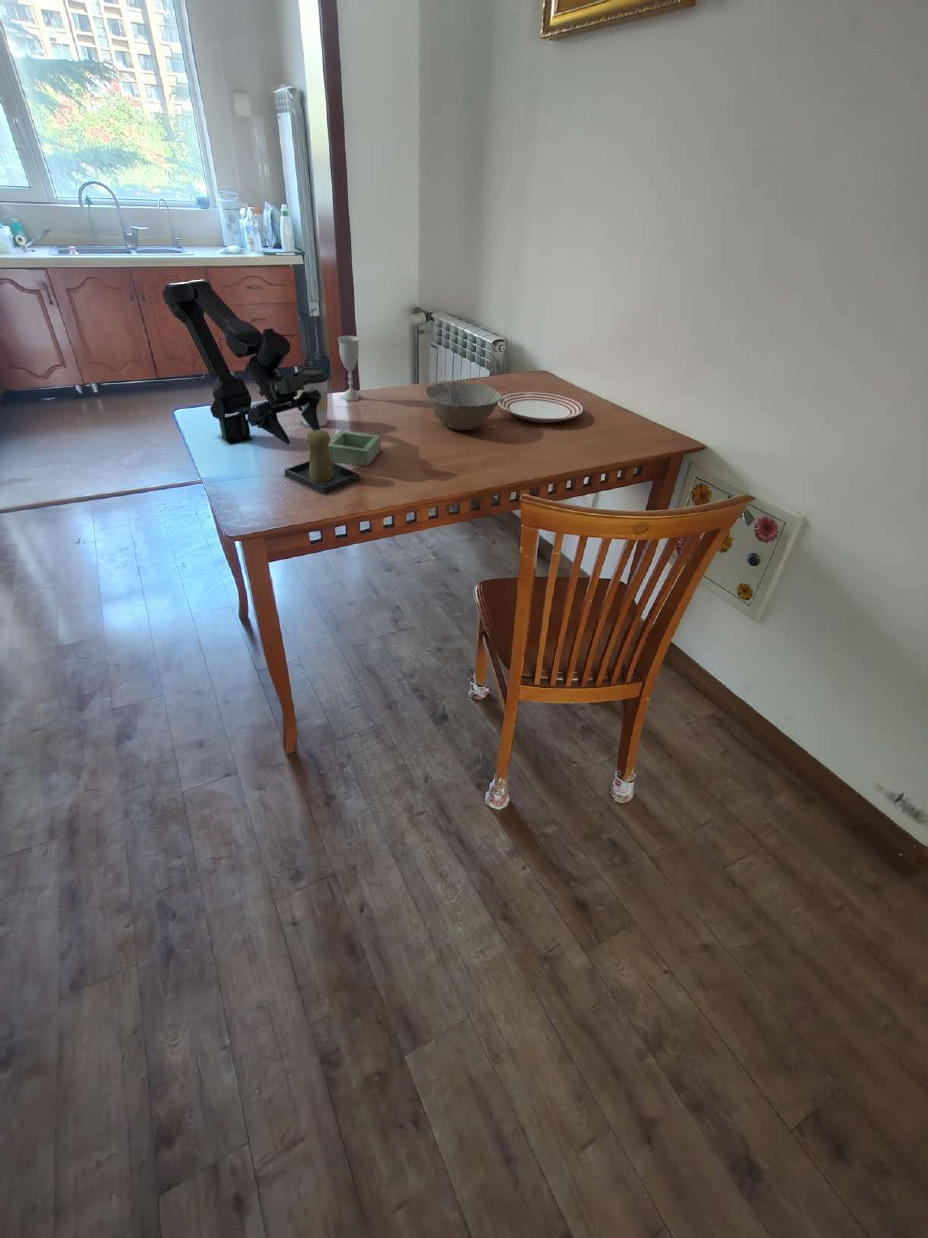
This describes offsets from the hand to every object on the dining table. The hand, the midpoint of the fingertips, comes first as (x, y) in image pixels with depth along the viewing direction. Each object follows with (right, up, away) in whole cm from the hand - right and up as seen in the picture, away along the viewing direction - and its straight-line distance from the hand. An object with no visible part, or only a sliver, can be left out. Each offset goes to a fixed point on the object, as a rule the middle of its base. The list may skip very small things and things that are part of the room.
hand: (304, 438), depth 142 cm
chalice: (+1, +29, +51) cm, 59 cm away
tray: (+4, -9, +3) cm, 10 cm away
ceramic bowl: (+37, +15, +37) cm, 55 cm away
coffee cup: (-5, +14, +32) cm, 35 cm away
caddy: (+9, 0, +15) cm, 18 cm away
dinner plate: (+63, +24, +51) cm, 85 cm away
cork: (+3, -8, +3) cm, 10 cm away
